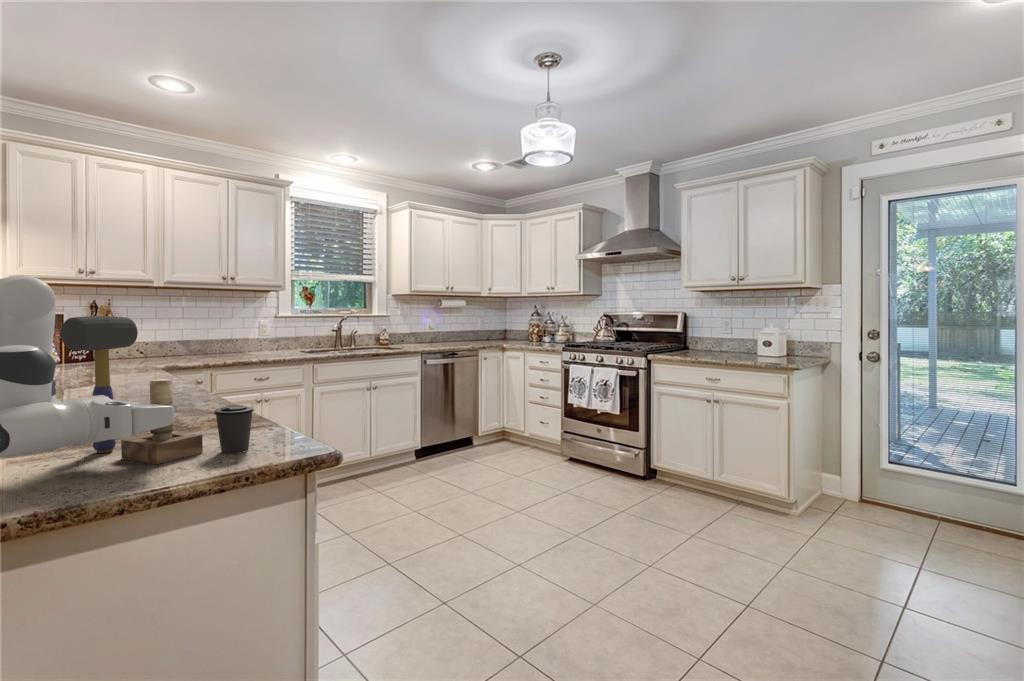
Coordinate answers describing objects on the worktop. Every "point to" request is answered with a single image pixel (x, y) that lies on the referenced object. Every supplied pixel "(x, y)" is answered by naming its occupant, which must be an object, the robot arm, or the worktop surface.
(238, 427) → the coffee cup
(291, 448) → the worktop surface
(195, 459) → the worktop surface
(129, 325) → the rubber mallet
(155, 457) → the walnut socket board
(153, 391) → the beech peg
